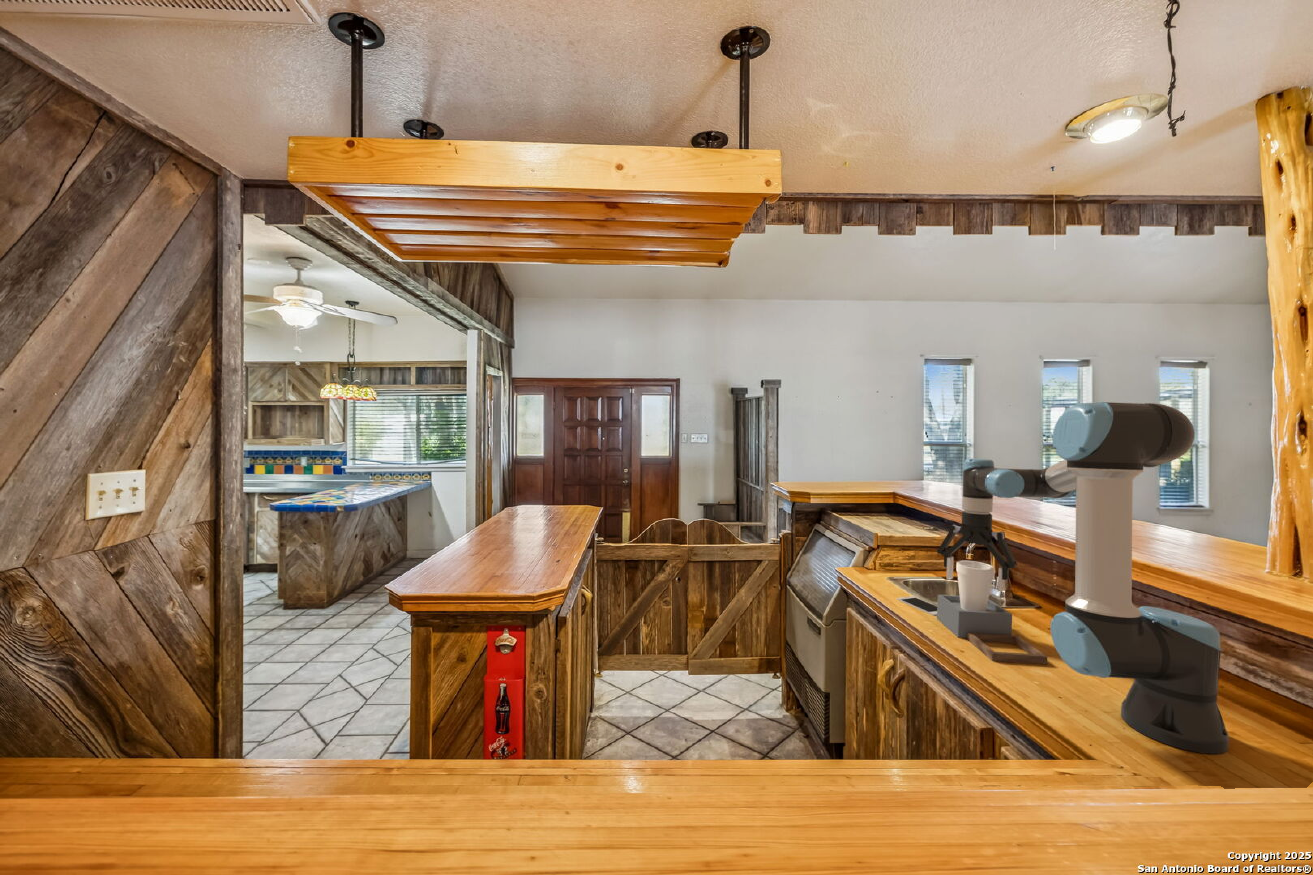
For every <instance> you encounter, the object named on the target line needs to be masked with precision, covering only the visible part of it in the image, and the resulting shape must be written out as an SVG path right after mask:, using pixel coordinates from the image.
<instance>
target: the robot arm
mask: <svg viewBox="0 0 1313 875" xmlns="http://www.w3.org/2000/svg"><path fill="white" fill-rule="evenodd" d="M1194 440H1195V428H1194V425H1193V424H1192V421H1191V419H1189V418H1188V416H1186V415H1185V413H1183V412H1181V411H1180V410H1178V409H1176V408H1174V407H1173V406H1169V405H1166V404H1162V403H1150V402H1149V403H1137V402H1136V403H1133V402H1107V401H1106V402H1104V401H1097V402H1085V403H1077V404H1074V405H1072V406H1070V407H1068V408H1067V409H1066V410H1064V412H1063V413H1062V414H1061V416H1059V417H1058V419H1057V421H1056V422H1055V425H1054V428H1053V431H1052V447H1053V449H1054V450H1055V453H1056V454H1057V456H1058V457H1060V458H1061V459H1063V460H1061V461H1059V462H1057V463H1055V464H1053V465H1050V466H1048V467H1045V468H1042V469H1037V468H1036V469H1034V468H1033V469H1030V468H1029V469H1028V468H998V467H995V462H994V461H993V460H992V459H988V458H966V459H965V460H964V462H963V470H962V502H961V505H962V506H961V509H962V510H963V511H962V512H961V526H958V525H957V524H952V525H950V526H949V528H948V533H947V535H946V536H945V538H944V540H943V541H942V543H941V544H940V546H938V547H939V548H938V549H937V551H936V552H937V554H939V555H942V556H943V567H944V568H946V580H952V579H954V558H955V557H954V556H952V555H953V554H954V553H955V552H956V551H958V549H960V548H961V547H962V546H963V545H964V544H965V543H968V544H970V545H971V544H975V545H979V546H982V545H983V546H984V547H985V548H986V549H987V550H988V551H989V553H990V554H991V555H992V557H993V558H994V559H995V560H996V561H997V563H998V564H999V565H1000V567H998V575H997V576H998V577H997V591H998V592H1000V593H1001V592H1003V591H1005V585H1006V584H1005V583H1006V582H1005V581H1007V580H1009V578H1010V569H1013V568H1016V567H1018V563H1017V560H1016V558H1015V556H1014V555H1013V553H1012V551H1011V548H1010V547H1009V544H1008V543H1007V541H1006V533H1005V531H993V529H992V528H993V514H992V512H993V506H994V503H993V501H994V496H995V497H997V498H1001V499H1003V498H1004V499H1013V498H1017V497H1018V498H1043V499H1044V498H1046V499H1049V498H1050V499H1057V500H1058V499H1067V498H1071V497H1073V496H1074V495H1075V557H1074V558H1075V563H1074V564H1075V565H1074V566H1075V569H1074V570H1075V571H1074V575H1075V576H1074V578H1075V579H1074V580H1075V582H1074V583H1075V584H1074V593H1073V595H1071V596H1070V597H1068V598H1067V599H1065V608H1064V609H1065V611H1061V612H1058V613H1056V614H1055V615H1054V616H1053V618H1052V619H1051V622H1050V635H1051V640H1052V642H1053V645H1054V647H1055V649H1056V650H1055V651H1056V652H1057V654H1058V655H1059V656H1060V658H1061V659H1062V661H1063V662H1064V663H1065V664H1066V665H1067V666H1068V667H1069V668H1070V669H1072V670H1073V671H1075V672H1076V673H1078V674H1080V675H1082V676H1083V675H1084V676H1091V677H1098V678H1100V679H1102V678H1103V679H1107V678H1112V679H1113V678H1114V679H1133V682H1132V684H1131V686H1130V688H1129V690H1128V692H1127V695H1126V697H1125V699H1123V701H1122V702H1121V705H1120V716H1121V719H1122V720H1123V721H1124V722H1125V723H1126V724H1127V725H1128V726H1129V727H1130V728H1132V729H1134V730H1136V731H1137V732H1139V733H1140V734H1143V735H1144V736H1146V737H1149V738H1151V739H1153V740H1155V741H1158V742H1159V743H1162V744H1165V745H1167V746H1171V747H1175V748H1178V749H1181V750H1185V751H1190V752H1194V753H1201V754H1211V755H1213V754H1214V755H1215V754H1216V755H1217V754H1223V753H1226V752H1228V750H1229V744H1230V737H1229V732H1228V731H1227V729H1226V726H1225V722H1224V720H1223V716H1222V713H1221V711H1220V708H1219V705H1218V691H1219V690H1218V688H1219V679H1220V678H1219V676H1220V666H1221V665H1220V664H1221V652H1222V648H1221V634H1220V631H1219V630H1218V629H1217V628H1216V626H1214V625H1213V624H1211V623H1208V622H1207V621H1204V620H1201V619H1199V618H1196V617H1193V616H1190V615H1187V614H1184V613H1180V612H1177V611H1174V610H1169V609H1164V608H1160V607H1155V606H1148V605H1146V606H1145V605H1144V606H1143V605H1142V606H1140V607H1136V605H1134V603H1133V601H1132V592H1133V591H1132V590H1133V587H1132V586H1133V585H1132V584H1133V575H1132V574H1133V573H1132V572H1133V485H1134V483H1133V482H1134V479H1135V478H1136V477H1137V476H1139V475H1140V474H1141V473H1143V472H1144V468H1146V469H1148V468H1150V469H1151V468H1155V467H1159V466H1160V465H1161V466H1162V465H1164V464H1167V463H1170V462H1172V461H1175V460H1177V459H1179V458H1180V457H1183V456H1184V455H1185V454H1186V453H1187V452H1188V451H1189V450H1190V449H1191V448H1192V446H1193V443H1194ZM959 532H960V533H961V535H962V537H961V538H959V539H958V540H957V541H956V542H955V543H954V544H953V545H952V546H951V547H950V548H948V547H949V545H950V544H951V542H952V540H953V539H955V536H956V534H957V533H959ZM992 537H994V539H995V540H996V541H997V543H998V546H999V547H1000V549H1001V551H1002V553H1003V554H1002V553H1001V552H1000V551H999V550H998V548H997V547H996V546H995V544H994V542H993V541H992V540H991V539H992Z"/></svg>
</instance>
